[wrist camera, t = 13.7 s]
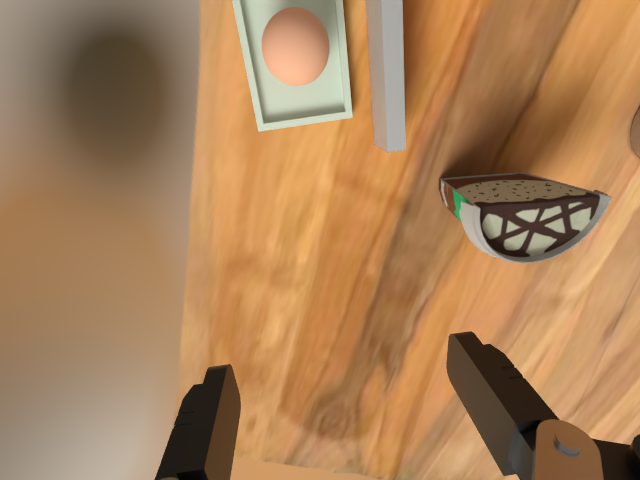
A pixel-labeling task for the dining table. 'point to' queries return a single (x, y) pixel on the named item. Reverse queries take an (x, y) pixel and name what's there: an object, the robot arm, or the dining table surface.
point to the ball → (295, 46)
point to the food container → (522, 214)
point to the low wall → (387, 72)
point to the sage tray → (285, 100)
